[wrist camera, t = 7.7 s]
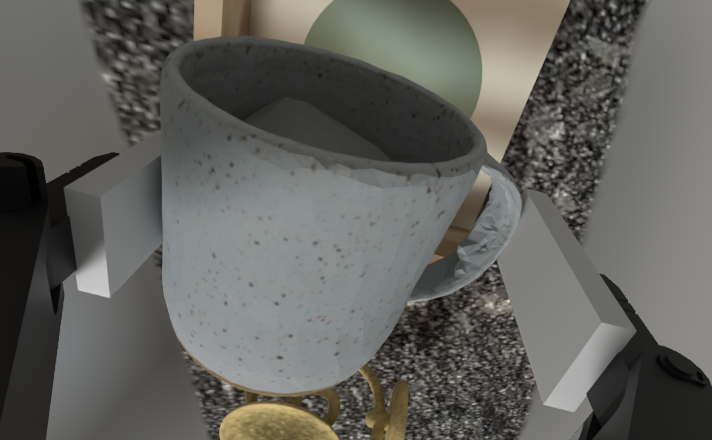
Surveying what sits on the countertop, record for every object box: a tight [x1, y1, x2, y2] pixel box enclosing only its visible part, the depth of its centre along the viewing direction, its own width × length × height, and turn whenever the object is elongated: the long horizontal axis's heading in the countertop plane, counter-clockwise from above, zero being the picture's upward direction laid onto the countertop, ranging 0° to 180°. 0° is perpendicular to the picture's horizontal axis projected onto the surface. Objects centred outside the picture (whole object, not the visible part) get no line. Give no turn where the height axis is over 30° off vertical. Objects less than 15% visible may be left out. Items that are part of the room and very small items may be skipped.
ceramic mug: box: [160, 36, 523, 397], centre depth 12 cm, size 11×8×8 cm
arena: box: [194, 0, 570, 283], centre depth 26 cm, size 20×20×6 cm
